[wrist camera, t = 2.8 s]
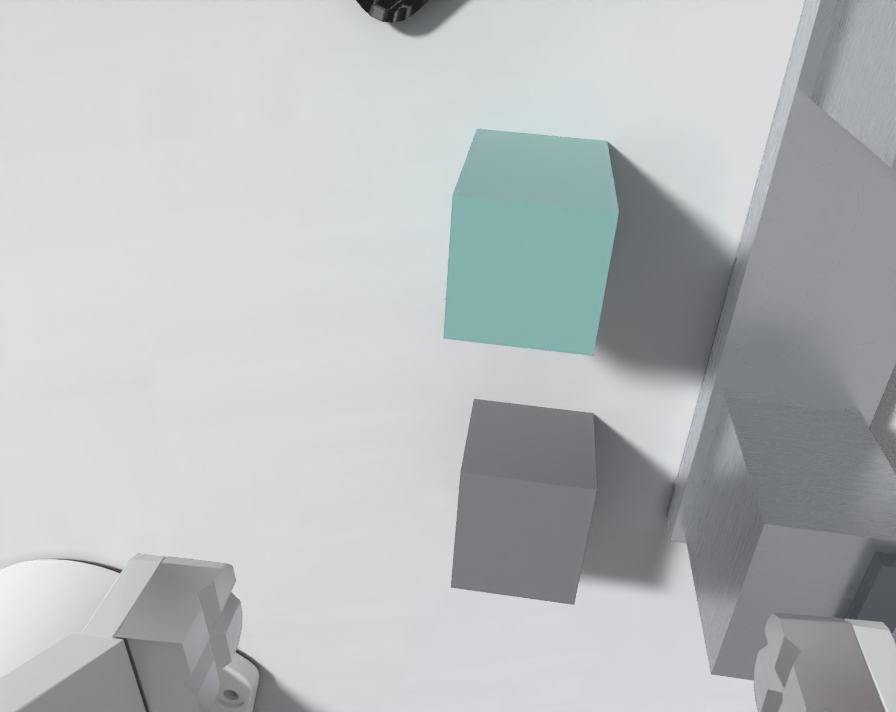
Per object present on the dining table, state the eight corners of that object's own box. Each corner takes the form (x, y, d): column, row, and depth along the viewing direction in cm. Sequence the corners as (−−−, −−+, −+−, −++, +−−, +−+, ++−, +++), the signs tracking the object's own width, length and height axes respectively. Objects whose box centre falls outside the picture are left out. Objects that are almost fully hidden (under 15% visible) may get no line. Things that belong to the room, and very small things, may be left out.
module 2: (573, 519, 36) (574, 604, 32) (464, 505, 36) (450, 587, 32) (593, 412, 33) (597, 490, 29) (474, 397, 33) (460, 472, 29)
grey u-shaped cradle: (805, 535, 34) (875, 722, 27) (666, 517, 35) (695, 696, 27) (1088, -182, 21) (1393, -224, 13) (857, -195, 22) (1022, -244, 14)
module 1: (587, 261, 29) (593, 355, 23) (468, 248, 30) (443, 338, 24) (607, 140, 27) (618, 211, 21) (477, 128, 27) (452, 195, 21)
